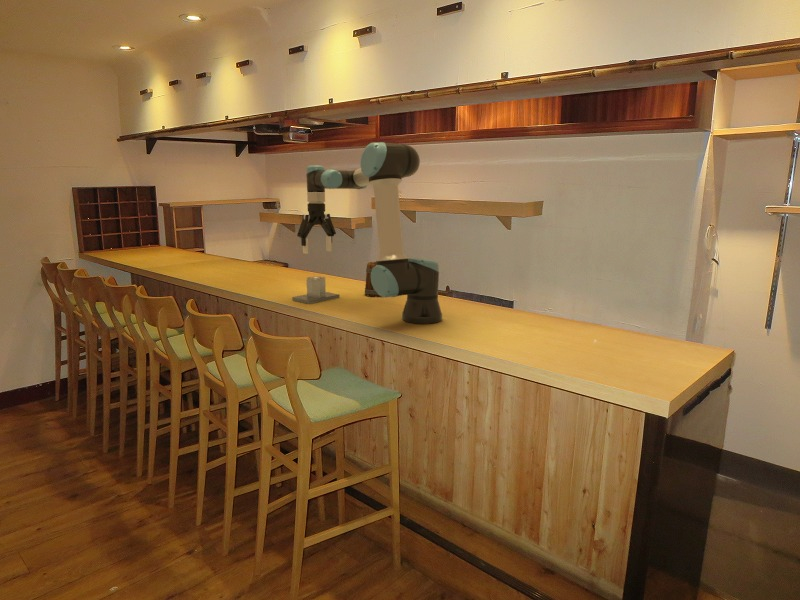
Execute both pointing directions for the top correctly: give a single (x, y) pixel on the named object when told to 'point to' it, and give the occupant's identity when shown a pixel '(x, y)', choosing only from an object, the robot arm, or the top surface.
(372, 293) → the mug
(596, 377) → the top surface
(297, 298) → the shaft stand
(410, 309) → the robot arm
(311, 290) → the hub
